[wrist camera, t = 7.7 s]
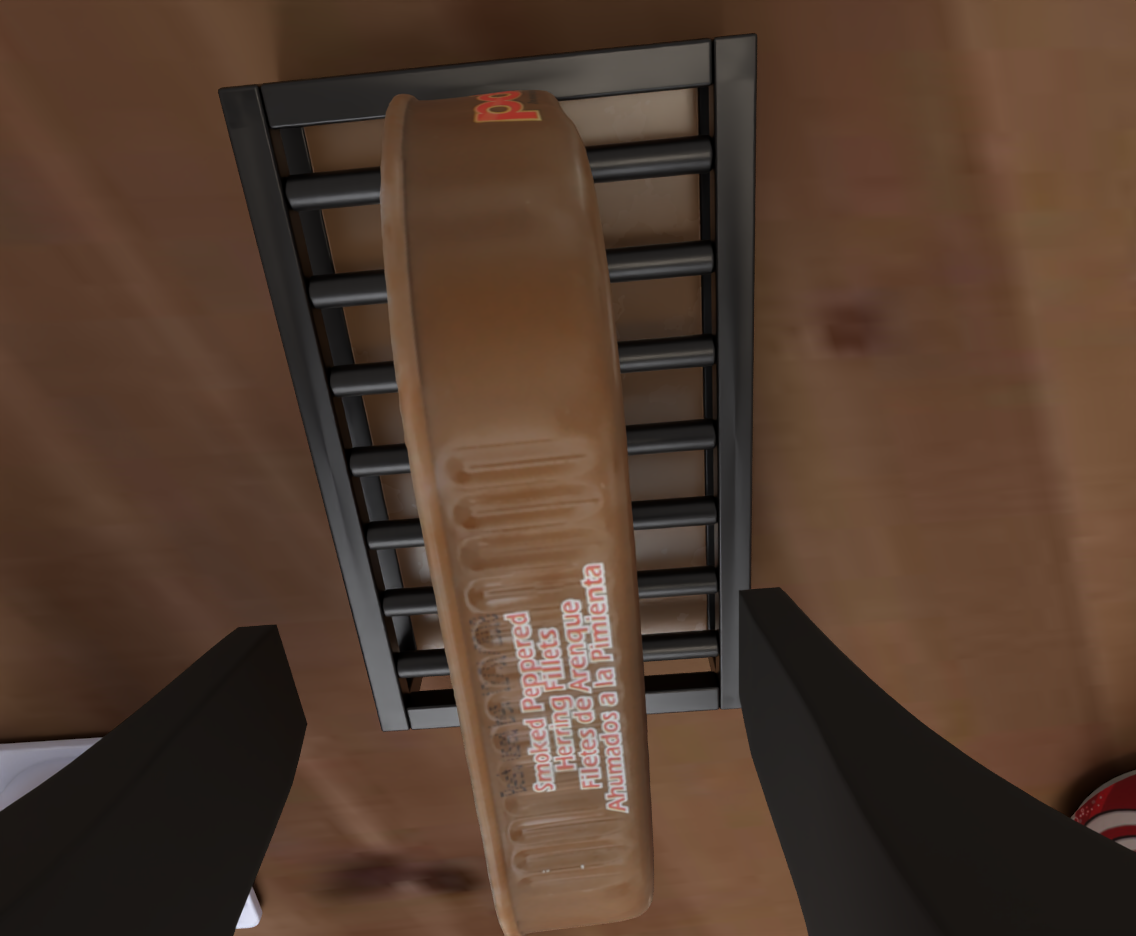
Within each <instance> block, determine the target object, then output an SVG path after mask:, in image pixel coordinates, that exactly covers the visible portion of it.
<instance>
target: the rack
mask: <svg viewBox="0 0 1136 936" xmlns="http://www.w3.org/2000/svg"><path fill="white" fill-rule="evenodd" d="M522 90H543V91H547V92H549V93H551V94H553V95H554V97H555V98H556V99H557V100H558V102H559V104H560V106H561V108H562V110H563V111H564V112H565V114H566V115H567V116H568V117H569V118H570V119H571V121H572V122H573V123H574V124H575V126H576V128H577V130H578V132H579V134H580V136H581V139H582V141H583V143H584V145H585V149H586V153H587V157H588V160H589V164H590V168H591V172H592V176H593V180H594V185H595V191H596V196H597V202H598V207H599V213H600V218H601V224H602V230H603V236H604V243H605V250H606V257H607V264H608V271H609V278H610V285H611V292H612V301H613V309H614V318H615V327H616V336H617V345H618V354H619V363H620V373H621V382H622V393H623V404H624V415H625V425H626V436H627V450H628V464H629V479H630V493H631V505H632V516H633V528H634V538H635V549H636V565H637V580H638V592H639V605H640V618H641V636H642V648H643V662H647V661H662V660H677V659H691V658H706V657H708V659H709V663H710V667H711V671H708V672H694V673H679V674H664V675H649V676H644V681H645V697H646V713H647V714H659V713H675V712H690V711H705V710H718V709H719V707H720V709H737V708H741V703H740V698H739V590H750V589H751V538H752V451H753V363H754V275H755V188H756V100H757V34H755V33H751V34H741V35H731V36H721V37H714V38H702V39H692V40H683V41H673V42H663V43H653V44H643V45H634V46H624V47H614V48H604V49H595V50H585V51H575V52H565V53H555V54H546V55H536V56H526V57H516V58H507V59H497V60H487V61H477V62H467V63H458V64H448V65H438V66H428V67H419V68H409V69H399V70H389V71H379V72H370V73H360V74H350V75H340V76H331V77H321V78H311V79H301V80H292V81H282V82H272V83H263V84H252V85H243V86H233V87H223V88H220V89H219V90H218V94H219V98H220V102H221V105H222V109H223V113H224V117H225V121H226V125H227V129H228V133H229V137H230V140H231V144H232V148H233V152H234V156H235V160H236V164H237V168H238V172H239V175H240V179H241V183H242V187H243V191H244V195H245V199H246V203H247V207H248V211H249V214H250V218H251V222H252V226H253V230H254V234H255V238H256V242H257V246H258V249H259V253H260V257H261V261H262V265H263V269H264V273H265V277H266V281H267V285H268V288H269V292H270V296H271V300H272V304H273V308H274V312H275V316H276V320H277V323H278V327H279V331H280V335H281V339H282V343H283V347H284V351H285V355H286V358H287V362H288V366H289V370H290V374H291V378H292V382H293V386H294V390H295V394H296V397H297V401H298V405H299V409H300V413H301V417H302V421H303V425H304V429H305V432H306V436H307V440H308V444H309V448H310V452H311V456H312V460H313V464H314V468H315V471H316V475H317V479H318V483H319V487H320V491H321V495H322V499H323V503H324V506H325V510H326V514H327V518H328V522H329V526H330V530H331V534H332V538H333V541H334V545H335V549H336V553H337V557H338V561H339V565H340V569H341V573H342V577H343V580H344V584H345V588H346V592H347V596H348V600H349V604H350V608H351V612H352V615H353V619H354V623H355V627H356V631H357V635H358V639H359V643H360V647H361V651H362V654H363V658H364V662H365V666H366V670H367V674H368V678H369V682H370V686H371V689H372V693H373V697H374V701H375V705H376V709H377V713H378V717H379V721H380V725H381V729H382V731H384V732H385V731H401V730H409V729H410V727H411V729H413V730H415V729H431V728H446V727H460V723H459V718H458V712H457V706H456V700H455V697H454V690H453V689H442V690H428V691H419V690H420V686H421V682H422V678H423V677H428V676H443V675H450V670H449V666H448V662H447V658H446V653H445V648H444V643H443V638H442V632H441V627H440V623H439V618H438V611H437V605H436V599H435V594H434V590H433V585H432V581H431V576H430V571H429V566H428V561H427V556H426V550H425V545H424V539H423V534H422V528H421V524H420V519H419V514H418V510H417V505H416V500H415V494H414V488H413V483H412V477H411V471H410V464H409V457H408V450H407V446H406V444H405V441H404V430H403V423H402V416H401V413H400V406H399V393H398V387H397V383H396V376H395V368H394V360H393V351H392V344H391V334H390V323H389V312H388V300H387V288H386V280H385V267H384V257H383V239H382V232H381V205H380V187H381V170H380V166H381V158H382V135H383V132H384V120H385V115H386V111H387V108H388V106H389V103H390V102H391V101H392V99H393V97H394V96H396V95H398V94H409V95H412V96H414V97H415V98H416V99H418V100H438V99H449V98H459V97H467V96H475V95H483V94H490V93H498V92H506V91H522Z"/></svg>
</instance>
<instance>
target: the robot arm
mask: <svg viewBox="0 0 1136 936" xmlns="http://www.w3.org/2000/svg"><path fill="white" fill-rule="evenodd" d="M739 698H740V703H741V708H742V713H743V718H744V723H745V728H746V732H747V737H748V742H749V747H750V751H751V755H752V759H753V762H754V765H755V768H756V771H757V774H758V777H759V780H760V783H761V786H762V789H763V792H764V795H765V798H766V801H767V804H768V807H769V810H770V813H771V816H772V819H773V822H774V825H775V828H776V831H777V834H778V837H779V840H780V843H781V846H782V849H783V852H784V855H785V858H786V861H787V864H788V867H789V870H790V873H791V876H792V879H793V882H794V885H795V888H796V891H797V895H798V898H799V902H800V905H801V909H802V912H803V915H804V919H805V922H806V926H807V931H808V935H809V936H1136V852H1135V851H1133V850H1131V849H1129V848H1127V847H1125V846H1123V845H1121V844H1119V843H1117V842H1115V841H1113V840H1111V839H1109V838H1107V837H1105V836H1103V835H1101V834H1100V833H1098V832H1096V831H1094V830H1092V829H1090V828H1088V827H1086V826H1084V825H1082V824H1080V823H1078V822H1076V821H1075V820H1073V819H1071V818H1069V817H1067V816H1066V815H1064V814H1062V813H1060V812H1058V811H1057V810H1055V809H1053V808H1051V807H1049V806H1048V805H1046V804H1044V803H1042V802H1041V801H1039V800H1037V799H1036V798H1034V797H1032V796H1031V795H1029V794H1027V793H1026V792H1024V791H1023V790H1021V789H1019V788H1018V787H1016V786H1014V785H1013V784H1011V783H1009V782H1008V781H1006V780H1005V779H1003V778H1001V777H1000V776H998V775H996V774H995V773H993V772H992V771H990V770H989V769H987V768H986V767H984V766H982V765H981V764H979V763H978V762H976V761H975V760H973V759H972V758H970V757H969V756H967V755H966V754H965V753H963V752H962V751H960V750H959V749H958V748H956V747H955V746H953V745H952V744H951V743H949V742H948V741H947V740H945V739H944V738H942V737H941V736H940V735H938V734H937V733H935V732H934V731H933V730H931V729H930V728H928V727H927V726H926V725H925V724H923V723H922V722H921V721H920V720H918V719H917V718H916V717H915V716H913V715H912V714H911V713H910V712H908V711H907V710H906V709H905V708H904V707H902V706H901V705H900V704H899V703H898V702H897V701H895V700H894V699H893V698H892V697H891V696H889V695H888V694H887V693H886V692H885V691H884V690H883V689H881V688H880V687H879V686H878V685H877V684H876V683H875V682H874V681H872V680H871V679H870V678H869V677H868V676H867V675H866V674H865V673H864V672H863V671H862V670H861V669H860V668H859V667H857V666H856V665H855V664H854V663H853V662H852V661H851V660H850V659H849V658H848V657H847V656H846V655H845V654H844V653H843V652H842V651H841V650H840V649H839V648H838V647H837V646H836V645H835V644H834V643H833V642H832V641H831V640H830V639H829V638H828V637H827V636H826V635H825V634H824V633H823V632H822V631H821V630H820V629H819V628H818V627H817V626H816V625H815V624H814V623H813V622H812V621H811V620H810V619H809V618H808V616H807V615H806V614H805V613H804V612H803V611H802V610H801V609H800V608H799V607H798V606H797V605H796V603H795V602H794V601H793V600H792V599H791V598H790V597H789V596H788V595H787V594H786V593H785V592H784V591H783V590H782V589H781V588H780V587H777V588H763V589H750V590H739ZM306 726H307V721H306V718H305V715H304V712H303V709H302V705H301V702H300V699H299V696H298V693H297V689H296V686H295V683H294V680H293V676H292V673H291V670H290V667H289V664H288V660H287V657H286V654H285V651H284V648H283V644H282V641H281V638H280V635H279V631H278V628H277V625H263V626H250V627H238V628H237V629H236V630H234V631H233V632H231V633H230V634H229V635H227V636H226V637H225V638H224V639H222V640H221V641H220V642H219V643H217V644H216V645H215V646H214V647H212V648H211V649H210V650H209V651H208V652H206V653H205V654H204V655H203V656H202V657H200V658H199V659H198V660H197V661H196V662H195V663H193V664H192V665H191V666H190V667H189V668H187V669H186V670H185V671H184V672H183V673H182V674H180V675H179V676H178V677H177V678H176V679H174V680H173V681H172V682H171V683H170V684H168V685H167V686H166V687H165V688H164V689H162V690H161V691H160V692H159V693H158V694H156V695H155V696H154V697H153V698H152V699H150V700H149V701H148V702H147V703H146V704H144V705H143V706H142V707H141V708H140V709H139V710H137V711H136V712H135V713H134V714H132V715H131V716H130V717H129V718H127V719H126V720H125V721H124V722H122V723H121V724H120V725H118V726H117V727H116V728H115V729H113V730H112V731H111V732H109V733H108V734H107V735H106V736H104V737H100V738H85V739H70V740H54V741H39V742H24V743H9V744H0V936H233V935H234V932H235V929H237V928H251V927H254V926H256V925H258V923H259V921H260V919H261V916H262V910H261V907H260V904H259V902H258V899H257V897H256V894H255V892H254V889H253V887H252V886H253V883H254V881H255V878H256V876H257V873H258V871H259V868H260V866H261V863H262V861H263V858H264V856H265V853H266V851H267V848H268V846H269V843H270V841H271V838H272V836H273V833H274V831H275V828H276V825H277V823H278V820H279V818H280V815H281V813H282V810H283V807H284V805H285V802H286V800H287V797H288V794H289V792H290V789H291V786H292V783H293V780H294V776H295V772H296V768H297V764H298V761H299V757H300V753H301V748H302V744H303V739H304V735H305V731H306Z"/></svg>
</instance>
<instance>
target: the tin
mask: <svg viewBox="0 0 1136 936" xmlns="http://www.w3.org/2000/svg"><path fill="white" fill-rule="evenodd" d="M380 170H381V187H380V205H381V232H382V239H383V257H384V267H385V280H386V288H387V300H388V312H389V323H390V334H391V344H392V351H393V360H394V368H395V376H396V383H397V387H398V393H399V406H400V413H401V416H402V423H403V430H404V441H405V444H406V446H407V450H408V457H409V464H410V471H411V477H412V483H413V488H414V494H415V500H416V505H417V510H418V514H419V519H420V524H421V528H422V534H423V539H424V545H425V550H426V556H427V561H428V566H429V571H430V576H431V581H432V585H433V590H434V594H435V599H436V605H437V611H438V618H439V623H440V627H441V632H442V638H443V643H444V648H445V653H446V658H447V662H448V666H449V670H450V678H451V684H452V687H453V690H454V697H455V700H456V706H457V712H458V718H459V723H460V729H461V733H462V738H463V743H464V749H465V755H466V760H467V765H468V769H469V773H470V778H471V785H472V789H473V795H474V802H475V807H476V812H477V817H478V821H479V826H480V831H481V836H482V841H483V847H484V854H485V858H486V863H487V870H488V875H489V880H490V885H491V890H492V895H493V900H494V905H495V909H496V913H497V917H498V920H499V923H500V926H501V928H502V930H503V932H504V935H505V936H525V935H526V934H528V933H532V932H540V931H548V930H556V929H564V928H573V927H581V926H590V925H598V924H606V923H613V922H620V921H624V920H628V919H631V918H635V917H638V916H640V915H642V914H643V913H644V912H645V911H646V910H647V909H648V907H649V906H650V904H651V902H652V899H653V892H654V850H653V830H652V810H651V794H650V773H649V752H648V741H647V713H646V697H645V681H644V664H643V648H642V636H641V618H640V605H639V592H638V580H637V565H636V549H635V538H634V528H633V516H632V505H631V493H630V479H629V464H628V450H627V436H626V425H625V415H624V404H623V393H622V382H621V373H620V363H619V354H618V345H617V336H616V327H615V318H614V309H613V301H612V292H611V285H610V278H609V271H608V264H607V257H606V250H605V243H604V236H603V230H602V224H601V218H600V213H599V207H598V202H597V196H596V191H595V185H594V180H593V176H592V172H591V168H590V164H589V160H588V157H587V153H586V149H585V145H584V143H583V141H582V139H581V136H580V134H579V132H578V130H577V128H576V126H575V124H574V123H573V122H572V121H571V119H570V118H569V117H568V116H567V115H566V114H565V112H564V111H563V110H562V108H561V106H560V104H559V102H558V100H557V99H556V98H555V97H554V95H553V94H551V93H549V92H547V91H543V90H522V91H506V92H498V93H490V94H483V95H475V96H467V97H459V98H449V99H438V100H418V99H416V98H415V97H414V96H412V95H409V94H398V95H396V96H394V97H393V99H392V101H391V102H390V103H389V106H388V108H387V111H386V115H385V120H384V132H383V135H382V158H381V166H380Z"/></svg>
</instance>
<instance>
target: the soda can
mask: <svg viewBox="0 0 1136 936" xmlns="http://www.w3.org/2000/svg"><path fill="white" fill-rule="evenodd" d="M1071 819H1073V820H1075V821H1076V822H1078V823H1080V824H1082V825H1084V826H1086V827H1088V828H1090V829H1092V830H1094V831H1096V832H1098V833H1100V834H1101V835H1103V836H1105V837H1107V838H1109V839H1111V840H1113V841H1115V842H1117V843H1119V844H1121V845H1123V846H1125V847H1127V848H1129V849H1131V850H1133V851H1135V852H1136V770H1134V771H1131V772H1128V773H1125V774H1122V775H1120V776H1118V777H1116V778H1113V779H1112V780H1110V781H1108V782H1106V783H1105V784H1103V785H1102V786H1100V787H1099V788H1097V789H1096V790H1095V791H1093V792H1092V793H1091V794H1090V795H1089V796H1088V797H1087V798H1086V799H1085V800H1084V802H1083V803H1082V804H1081V805H1080V807H1079V808H1078V810H1077V811H1076V812H1075V813H1074V815H1073V816H1072V817H1071Z"/></svg>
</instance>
